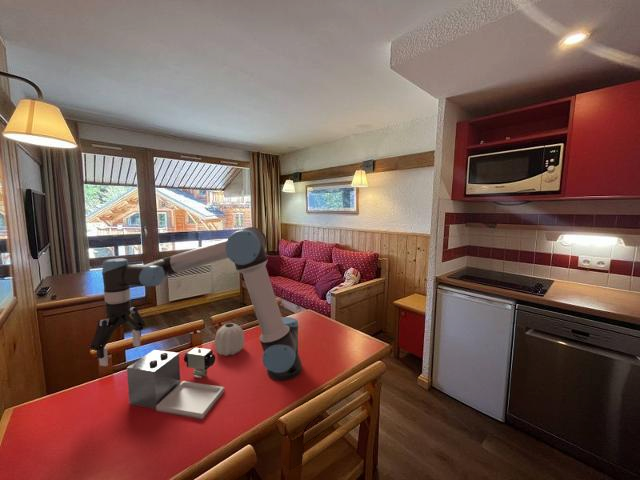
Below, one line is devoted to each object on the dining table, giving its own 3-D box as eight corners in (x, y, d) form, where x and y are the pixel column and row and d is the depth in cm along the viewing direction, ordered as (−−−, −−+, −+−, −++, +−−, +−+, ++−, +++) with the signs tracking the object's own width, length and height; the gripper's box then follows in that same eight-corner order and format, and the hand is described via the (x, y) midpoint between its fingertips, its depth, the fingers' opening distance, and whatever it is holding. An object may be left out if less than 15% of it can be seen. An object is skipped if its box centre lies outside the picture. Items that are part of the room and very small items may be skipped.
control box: (180, 386, 104) (178, 350, 102) (156, 409, 92) (154, 368, 91) (155, 382, 106) (152, 347, 104) (128, 404, 94) (125, 364, 93)
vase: (248, 353, 129) (248, 327, 127) (218, 362, 121) (217, 334, 119) (239, 341, 140) (239, 317, 139) (211, 348, 132) (210, 323, 131)
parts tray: (224, 391, 102) (224, 386, 102) (202, 419, 88) (202, 413, 88) (183, 385, 105) (183, 380, 105) (156, 411, 92) (156, 405, 91)
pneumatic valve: (209, 381, 108) (208, 353, 106) (184, 377, 110) (183, 350, 108) (217, 373, 113) (216, 346, 112) (193, 369, 115) (192, 343, 114)
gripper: (137, 289, 110) (140, 338, 113) (72, 312, 86) (77, 373, 89) (153, 291, 109) (156, 340, 112) (91, 314, 85) (96, 376, 87)
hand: (121, 355), depth 100 cm, fingers open, 13 cm apart
